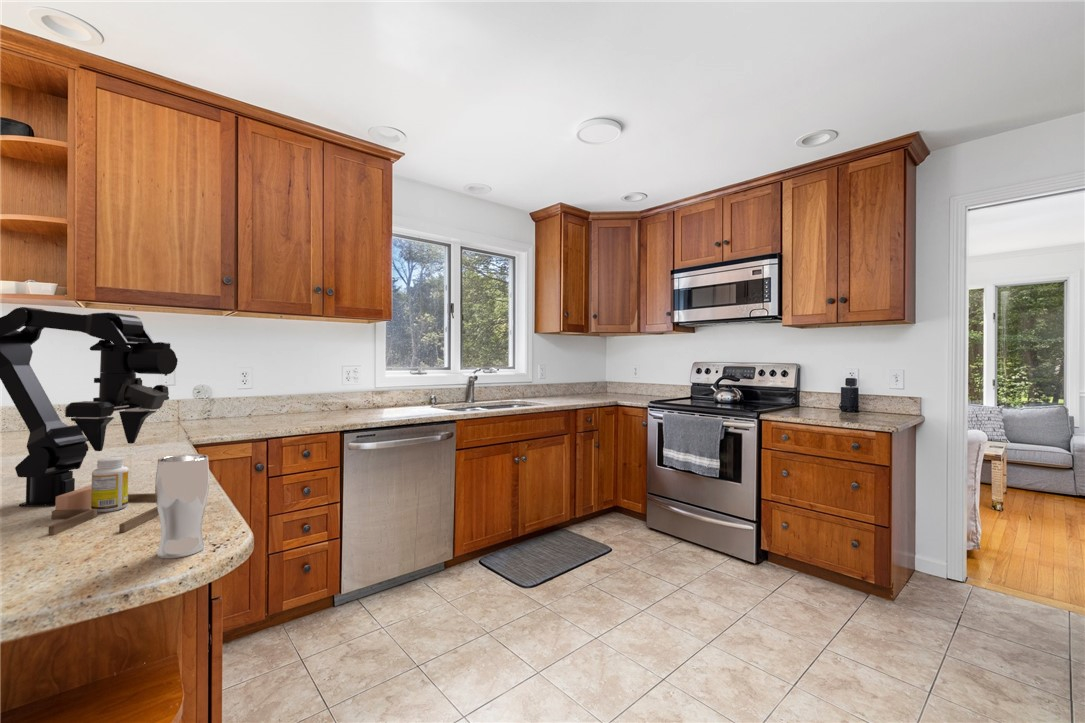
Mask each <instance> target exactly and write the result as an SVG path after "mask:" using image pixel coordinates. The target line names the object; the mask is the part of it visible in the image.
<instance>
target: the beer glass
mask: <svg viewBox="0 0 1085 723" xmlns="http://www.w3.org/2000/svg"><path fill="white" fill-rule="evenodd" d="M154 483H155V485H154V493H155V497H156V501H155V503H156V507H157V510H158V519H159V525H160V539H159V544H158V548H157V552H156V554H157V555H156V556H157V557H158V558H160V559H166V560H167V559H170V560H171V559H179V558H185V557H189V556H192V555H195V554H197V553H200V552H201V551H202V550H204V549H205V543H204V542H205V541H204V538H203V530H202V529H203V528H202V527H203V526H202V525H203V519H204V515H205V511H206V510H205V509H206V505H207V501H208V495H209V490H210V466H209V455H207V454H199V453H197V454H195V453H193V454H191V453H190V454H179V455H178V454H177V455H171V456H165V457H161V458H158V459H157V467H156V474H155V482H154Z"/></svg>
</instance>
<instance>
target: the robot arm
mask: <svg viewBox="0 0 1085 723" xmlns="http://www.w3.org/2000/svg"><path fill="white" fill-rule="evenodd" d="M43 329H53V330H63V331H72V332H78V333H79V332H80V333H84V334H86V335H89V336H90V337H94V338H97V339H99V340H98V342H96V343H95V344H93V345H91V346H90V347H89V350H90V351H91V352H92V351H94V352H97V351H98V352H99V351H100V362H99V363H100V365H99V367H100V368H99V377H93V383H94V384H99V390H98V392H99V393H98V397H93V398H92V400H90V401H87V400H86V401H85V400H84V401H73V402H70V403H68V405H66V406H65V410H64V417H65V418H70V421H71V422H75V424H73V425H67V424H65V423H64V422H63V421H62V420H61V418H60V416H59V415H58V413H57V411H56V408H55V407H54V406H53V404H52V402H51V400H50V398H49V397H48V395H47V393H46V391H45V389H44V387H43V386H42V384H41V382H40V380H39V379H38V377H37V375H36V373H35V372H34V370H33V368H32V366H31V364H30V363H31V360H32V356H33V352H34V351H33V348H32V345H33V344H35V343H36V342H37V341H38V340H40V338H41V334H42V331H43ZM177 365H178V357H177V355H176V352H175V351H174V349H172V348H171V343H170V342H163V341H162V342H161V341H160V342H159V341H158V342H157V341H156V342H155V341H154V339H152V337H151V336H150V334H149V332H148V331H147V330H146V328H145V327H144V323H143V322H142V320H141V318H140V317H138V315H132V314H125V313H124V314H123V313H115V312H95V313H90V314H88V313H87V314H81V313H80V314H78V313H77V314H76V313H69V312H61V311H54V310H53V311H52V310H46V309H42V308H35V307H29V306H28V307H27V306H20V307H16V308H13V310H11V311H10V312H8V314H6V315H3V316H1V317H0V380H1V383H2V384H3V386H4V388H5V390H6V392H7V394H8V395H9V396H10V399H11V401H12V403H13V404H14V406H15V407H16V410H17V411H18V414H19V415H20V417H21V419H22V420H23V422H24V423H25V426H26V427H27V429H28V432H29V435H28V439H27V443H26V449H27V451H28V455H27V456H25V457H24V459H23V460H21V462H19V463H18V464H17V465H16V466H15V467H14V470H15V472H16V476H17V477H18V478H25V480H26V484H25V501H23V502H21V503H18V507H45V506H46V507H51V506H52V507H53V506H55V505H56V497H57V496H60V495H63V494H66V493H69V492H72V491H75V490H76V488H75V486H76V484H75V483H76V482H75V480H76V478H75V477H74V475H73V474H74V471H73V470H79V469H81V466H82V464H83V462H84V459H85V457H86V456H87V453H88V451H89V445H88V443H89V444H90V446H91V447H92V449H93V450H94V452H102V451H103V448H104V445H105V437H106V430H107V425H108V424H109V423H110V422H112V420H114V419H115V417H114V416H112V415H113V414H114V412H115V411H119V412H118V413H119V417H120V420H121V424H122V427H123V432H124V436H125V438H126V441H127V444H135V442H136V440H137V438H138V436H139V433H140V431H141V430H142V426H143V424H144V422H145V420H146V419H147V418H148V417H149V416H151V415H152V414H155V413H156V412H157V410H160V409H161V408H162V407H163V404H164V402H165V401H168V400H170V397H169V394H170V393H169V386H168V385H164V384H156V385H155V386H154V387H152V386H147V385H146V386H145V385H143V379H141V377H137V374H140V375H141V374H142V375H143V374H145V375H170V374H172V373H174V372H175V370H176V369H177ZM87 442H88V443H87Z"/></svg>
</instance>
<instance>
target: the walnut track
mask: <svg viewBox="0 0 1085 723" xmlns="http://www.w3.org/2000/svg"><path fill="white" fill-rule="evenodd" d="M130 502H131V503H135V502H137V503H141V502H156V497H155V492H151V493H150V492H149V493H128V503H130ZM97 517H98V512H97V509H91V508H90V509H71V510H55V509H54V510H51V520H61V521H59V522H56V523H54V524H51V525H49V526H48V530H47V532H48V534H47V535H48V536H55V535H57V534H59V532H60V533H62V532H64V531H66V530H68V529H71V528H73V527H76V526H79V525H81V524H82V523H85V522H87V521H90V520H92V519H94V518H97ZM156 517H159V515H158V510H157V506H155V507H153V508H150V509H149V510H147V511H145V512H142V513H141V514H138V515H136V516H134V517H132V518H129V519H127V520H126V521H124V522H122V523H119V526H118V527H119V529H118V530H119V532H118V533H119V534H122V533H123V534H125V533H127V532H129V531H131V530H132V529H134V528H136V527H138V526H140V525H143V524H145V523H146V522H148V521H150V520H152V519H155V518H156Z"/></svg>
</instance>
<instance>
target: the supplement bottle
mask: <svg viewBox="0 0 1085 723" xmlns="http://www.w3.org/2000/svg"><path fill="white" fill-rule="evenodd" d="M124 464H125V462H124V457H123V456H113V457H112V456H110V457H103V458H98V460H97V464H96V469H93V470H92V471H91V485H92V493H91V508H90V509H97V513H109V512H110V513H111V512H114V511H115V512H116V511H118V510H122V509H124V508H126V507H127V506H128V505H129V504H128V503H129V502H128V494H129V467H127V466H125V465H124Z"/></svg>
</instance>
